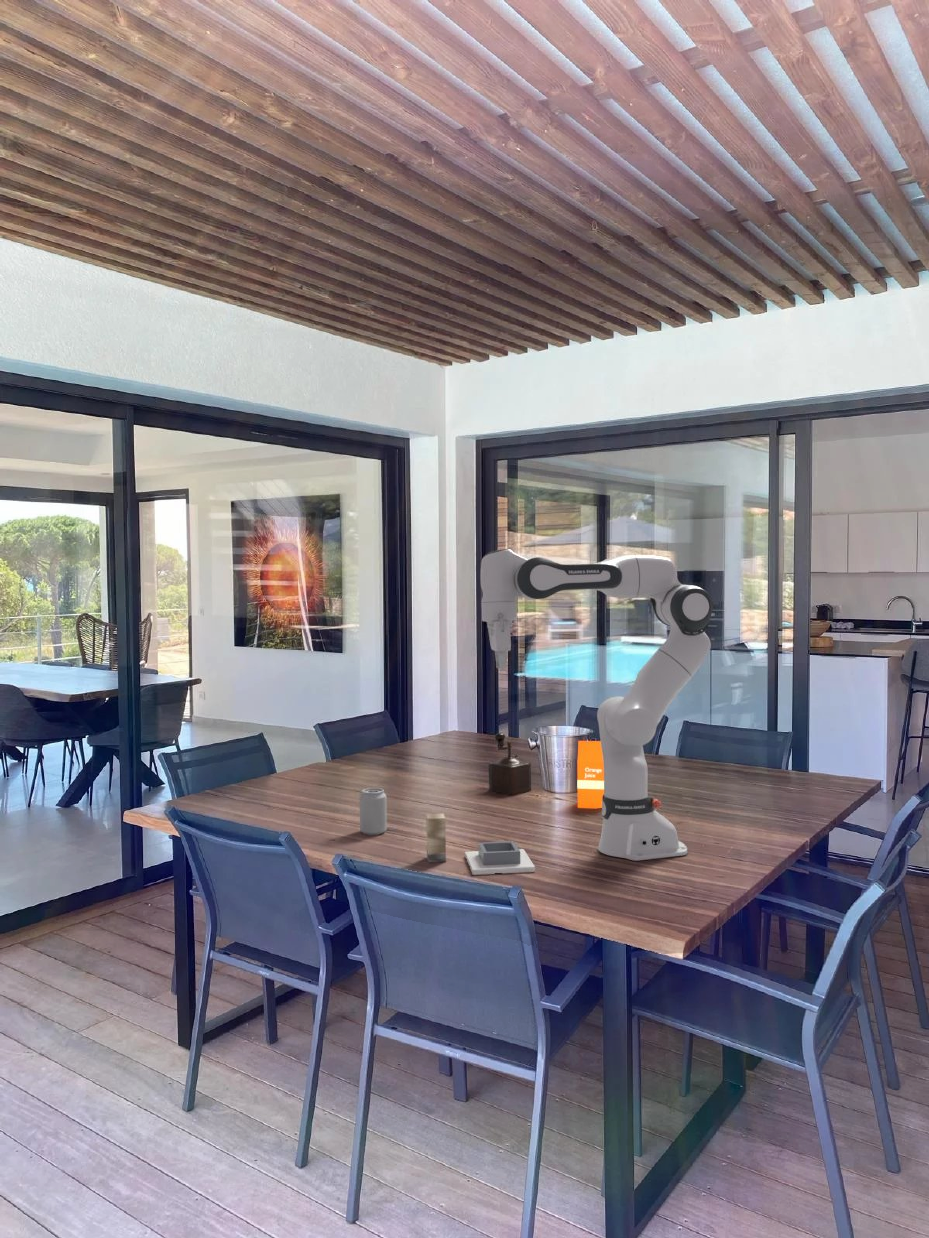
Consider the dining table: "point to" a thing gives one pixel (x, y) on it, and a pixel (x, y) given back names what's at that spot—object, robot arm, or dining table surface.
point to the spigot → (436, 838)
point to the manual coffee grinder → (509, 772)
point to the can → (373, 811)
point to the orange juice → (590, 774)
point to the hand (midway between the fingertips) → (501, 669)
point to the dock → (498, 859)
